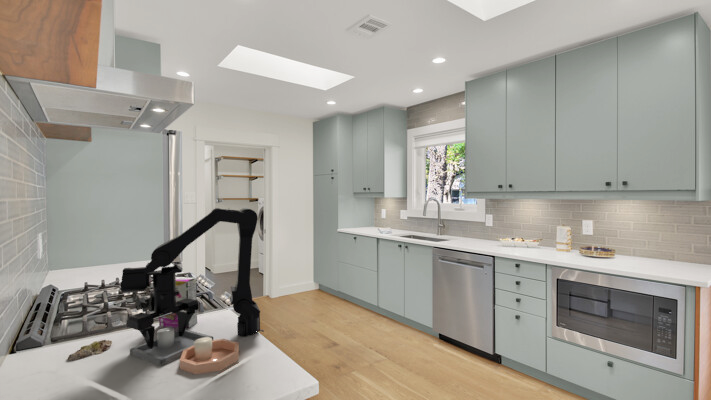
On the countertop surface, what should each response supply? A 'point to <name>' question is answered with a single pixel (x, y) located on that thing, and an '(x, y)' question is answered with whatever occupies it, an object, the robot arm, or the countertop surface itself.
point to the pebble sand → (203, 348)
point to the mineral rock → (91, 349)
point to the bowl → (222, 357)
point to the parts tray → (168, 353)
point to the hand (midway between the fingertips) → (166, 342)
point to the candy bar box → (186, 290)
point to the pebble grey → (165, 338)
